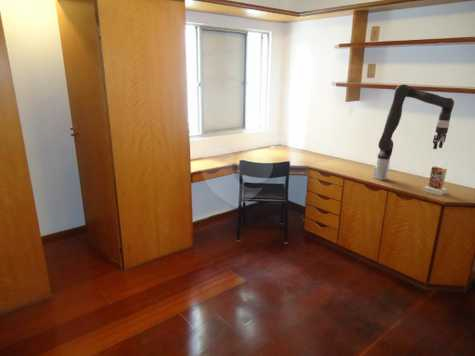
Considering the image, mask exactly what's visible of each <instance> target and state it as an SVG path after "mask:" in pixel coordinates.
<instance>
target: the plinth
mask: <svg viewBox="0 0 475 356" xmlns="http://www.w3.org/2000/svg"><path fill="white" fill-rule="evenodd" d="M422 189H423V190H422V191H423V192H426V193H430V194H433V195H437V196H442V195H444V194H447V188H445V187H443V188H442V189H441V190H439V189H436V188H432V187H428V185H425V186H424V187H423V188H422Z"/></svg>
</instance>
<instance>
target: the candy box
mask: <svg viewBox="0 0 475 356" xmlns="http://www.w3.org/2000/svg"><path fill="white" fill-rule="evenodd" d="M430 170H431V171H430V174H429V178H428V179H429V180H428V184H427V186H428V187H432V188H436V189H439V190H441V189H442V188H444V182H445V180H446V175H447V168H443V167H438V166H435V165H434V166H431V169H430Z"/></svg>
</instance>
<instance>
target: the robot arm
mask: <svg viewBox="0 0 475 356" xmlns="http://www.w3.org/2000/svg"><path fill="white" fill-rule="evenodd" d="M406 98H412V99H416V100H418V101H421V102H423V103H426V104H429V105H433V106H437V107H439V108H441V111H440V113H439V115H438V120H437V124H436V127H435V133H437V134H434V136H433V140H432V144H433V147H432V149H433V150H437V149H438V148H439V149H442V148H443V146H444V143H445V142H446V139H447V134H448V133H449V132H448V131H449V127H450V120H451V116H452V112H453V109H454V107H455V106H454V105H455V100H454V99H453V98H451V97H445V96H441V95H438V94H434V93H430V92H426V91H424V90H423V91H422V90H419V89H416V88H413V87H411V86H409V85H408V84H399V85H397V87H395V90H394V95H393V99H392V103H391V105H390V109H389V112H388V115H387V118H386V121H385V124H384V128H383V131H382V133H381V137H380V139H379V142H378V148H379V149H380V151H379V153H378V154H377V161H376V166H374V172H373V178H374V179H376V180H379V181H386V180H387V179H388V173H389V167H390V160H391V156H392V154H393V148H394V141H393V135H394V133H395V131H396V129H398V125H400V121H401V119H402V118H401V117H402V113H403V105H404V101H405V99H406Z"/></svg>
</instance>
